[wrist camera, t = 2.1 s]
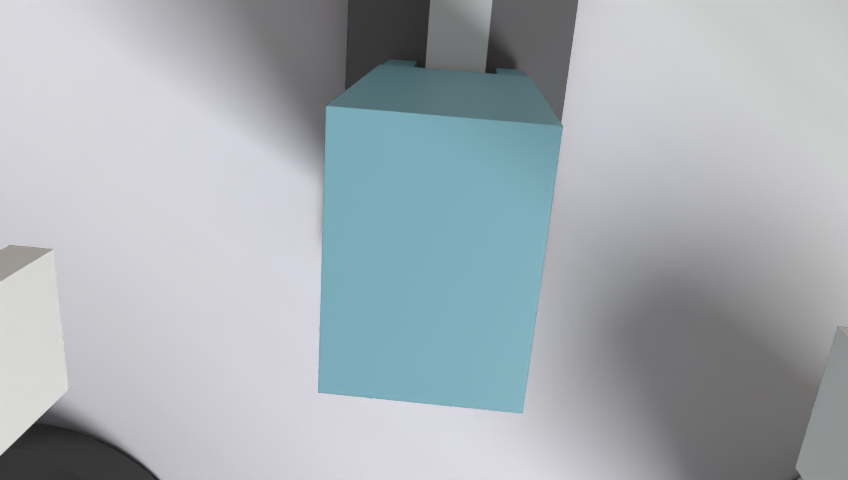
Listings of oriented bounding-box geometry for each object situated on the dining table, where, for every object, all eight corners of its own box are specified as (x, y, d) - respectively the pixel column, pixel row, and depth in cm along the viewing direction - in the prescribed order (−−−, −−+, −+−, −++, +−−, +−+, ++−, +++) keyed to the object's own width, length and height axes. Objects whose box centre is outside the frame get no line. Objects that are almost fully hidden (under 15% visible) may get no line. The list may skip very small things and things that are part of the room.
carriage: (376, 242, 28) (318, 392, 17) (386, 58, 25) (326, 105, 15) (504, 254, 28) (522, 413, 17) (526, 70, 25) (562, 126, 15)
